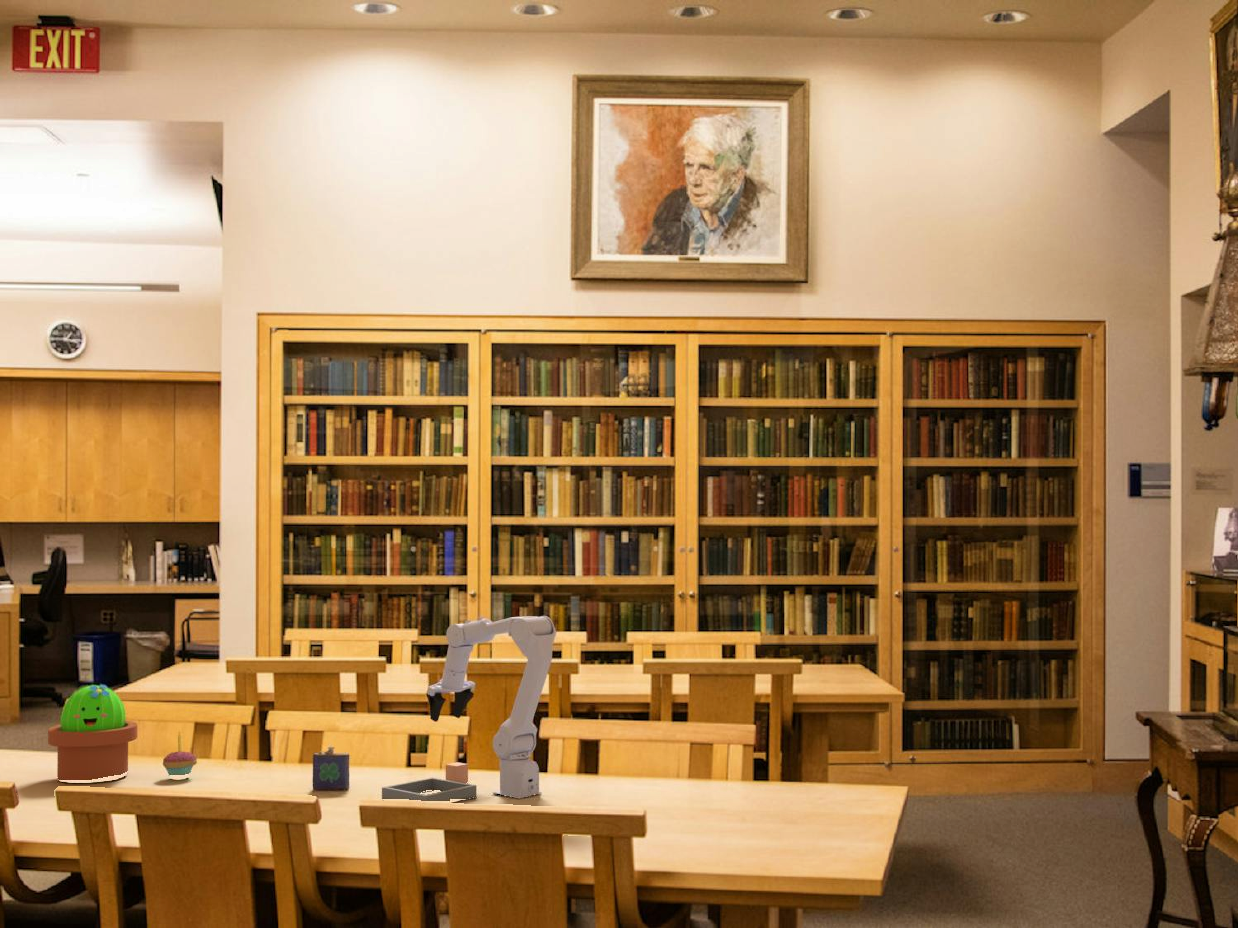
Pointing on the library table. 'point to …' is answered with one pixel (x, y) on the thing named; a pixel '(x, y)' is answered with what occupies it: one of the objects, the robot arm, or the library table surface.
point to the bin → (416, 787)
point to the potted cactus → (92, 735)
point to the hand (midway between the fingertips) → (445, 718)
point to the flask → (330, 771)
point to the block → (457, 772)
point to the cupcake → (179, 761)
